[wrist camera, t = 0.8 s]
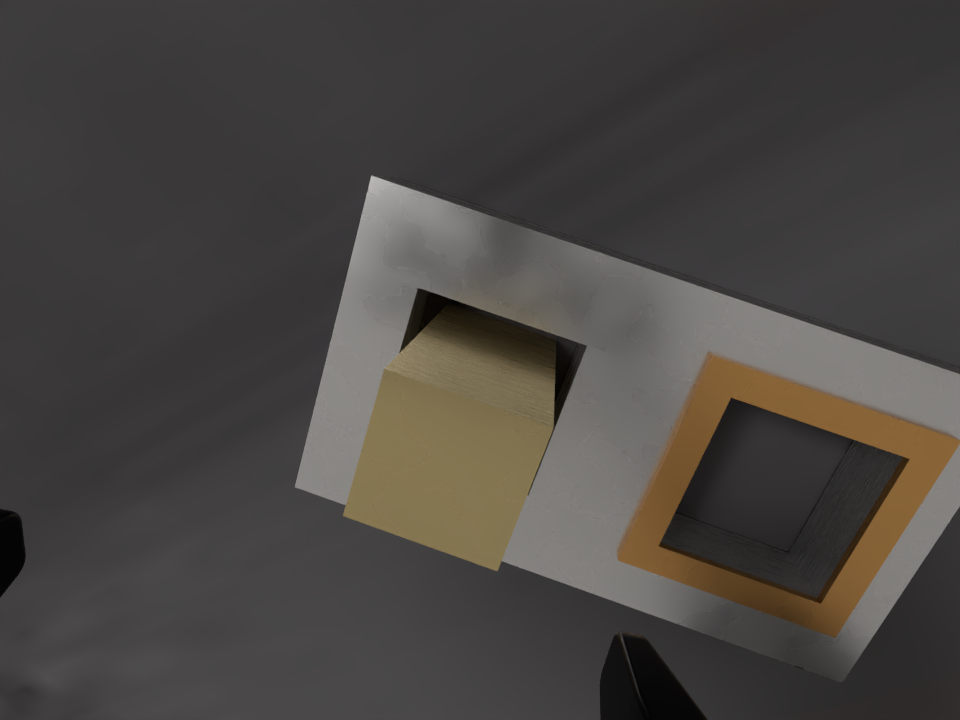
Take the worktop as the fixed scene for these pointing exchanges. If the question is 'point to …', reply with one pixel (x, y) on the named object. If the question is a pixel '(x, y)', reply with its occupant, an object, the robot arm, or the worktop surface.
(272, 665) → the worktop surface
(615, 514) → the rail plate
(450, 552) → the brass peg
